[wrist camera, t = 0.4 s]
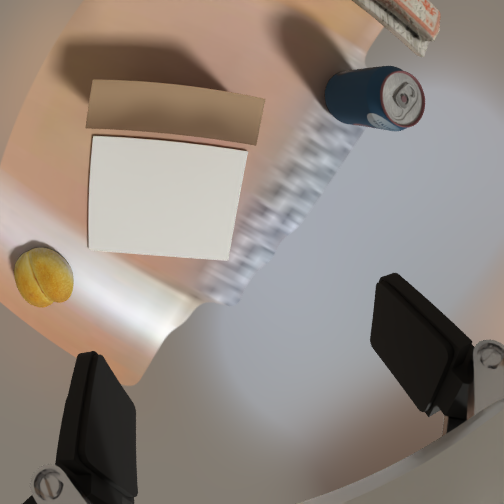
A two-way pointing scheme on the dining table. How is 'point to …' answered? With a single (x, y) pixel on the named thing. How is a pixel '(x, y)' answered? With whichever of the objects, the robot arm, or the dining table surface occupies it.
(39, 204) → the dining table surface
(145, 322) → the dining table surface
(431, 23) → the packaged product
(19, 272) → the bread roll
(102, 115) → the wooden block
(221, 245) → the mat
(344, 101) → the soda can
